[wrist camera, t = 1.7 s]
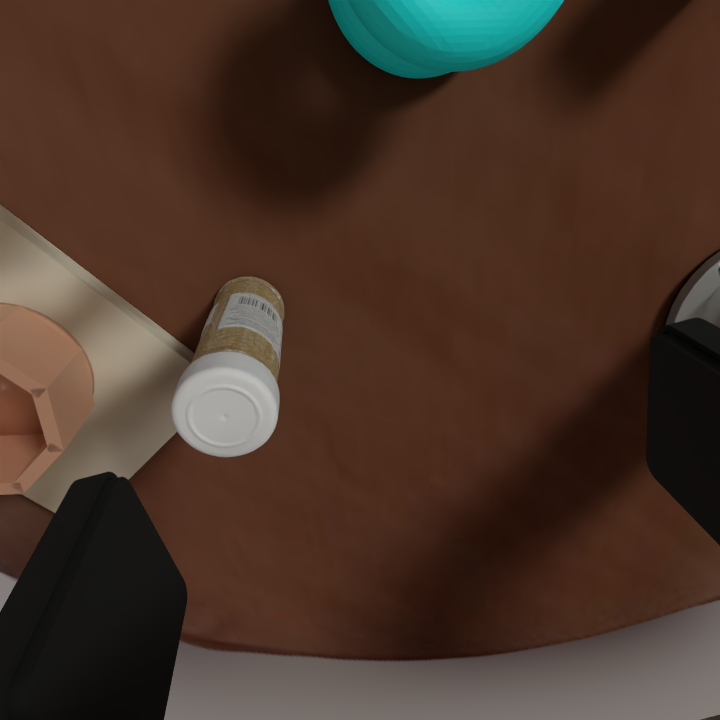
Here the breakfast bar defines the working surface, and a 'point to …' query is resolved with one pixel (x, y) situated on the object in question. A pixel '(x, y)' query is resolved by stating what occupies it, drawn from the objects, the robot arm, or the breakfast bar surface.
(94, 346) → the birch board
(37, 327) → the terracotta octagonal bowl
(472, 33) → the donuts
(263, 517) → the breakfast bar surface
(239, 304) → the spice jar
